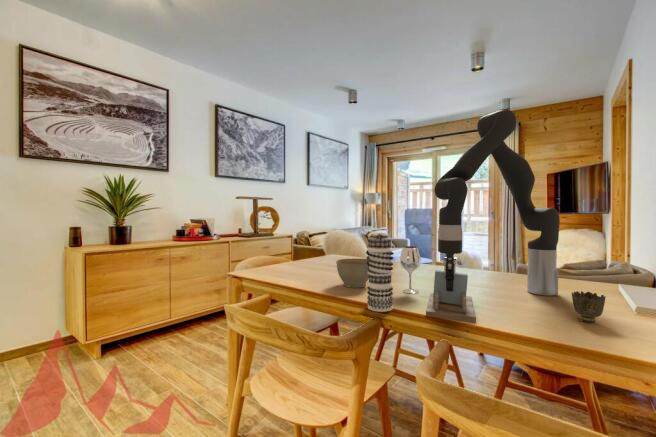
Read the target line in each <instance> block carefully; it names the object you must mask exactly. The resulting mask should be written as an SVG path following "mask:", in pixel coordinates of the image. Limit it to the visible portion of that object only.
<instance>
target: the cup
mask: <svg viewBox="0 0 656 437" xmlns="http://www.w3.org/2000/svg"><path fill="white" fill-rule="evenodd" d="M606 297H607V296H605V295H604V294H601V295H600V296H599V295H598V294H597V293H596V292H594V293H593V292H590V291H586V292H584V291H578V290H574V292H573V291H571V298H572V299H571V300H572V305H573V306H572V307H573V308H574V311H575V312H576V314H578V315H579V319H580V321H582V322H584V323H589V324H592V323H596V322H597V318H598V317H600V316H602V314H603V312H604V307H605V302H606Z"/></svg>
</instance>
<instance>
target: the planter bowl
mask: <svg viewBox="0 0 656 437" xmlns="http://www.w3.org/2000/svg"><path fill="white" fill-rule="evenodd" d="M367 261H368V260H367V259H366V258H342V259H338V260H336V262H335V263H336V270H337V274H338V276H339V278H340V280H341V281H342V283H343V286H344V287H347V288H357V289H358V288H362V287H363V288H364V287H365V286H366V285H367V283H368V281H369V274H368V273H367V272H368V270H367V267H369V266H368V265H367Z"/></svg>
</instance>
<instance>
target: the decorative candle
mask: <svg viewBox="0 0 656 437" xmlns="http://www.w3.org/2000/svg"><path fill="white" fill-rule="evenodd" d="M367 239H368V247H367V250H366V252H365V253H366V255H367V256H366V258H365V259H367V260H368V261H367V265H368V266H369V267H367V270H368V272H367V273H368V274H369V279H368V281H367V284H368V285H367V294H368V295H367V298H366V299H367V302H366V303H367V309H368V310H370V311H373V312H378V313H379V312H390V311H392V310H393V309H394V307H393V304H394V302H393V301H394V298H393V294H394V293H393V289H394V287H393V281H392V275H393V271H392V270H394V268H393V267H392V266H394V262H392V261H393V259H395V258H394V257H393V256H394V254H395V253H394V252H393V251H392V249H393V248H392V238H391V237H390V235H389V233H382V232H381V233H380V232H379V233H378V232H376V233H371V234H370V235H369V237H367Z"/></svg>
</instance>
